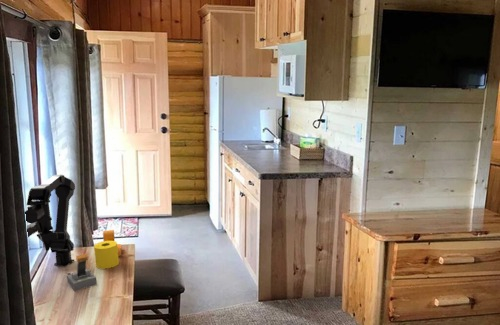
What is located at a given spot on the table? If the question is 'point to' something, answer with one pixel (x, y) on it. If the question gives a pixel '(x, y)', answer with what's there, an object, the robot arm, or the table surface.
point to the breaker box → (81, 280)
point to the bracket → (111, 239)
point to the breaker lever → (81, 264)
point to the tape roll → (106, 254)
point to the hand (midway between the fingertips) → (47, 250)
